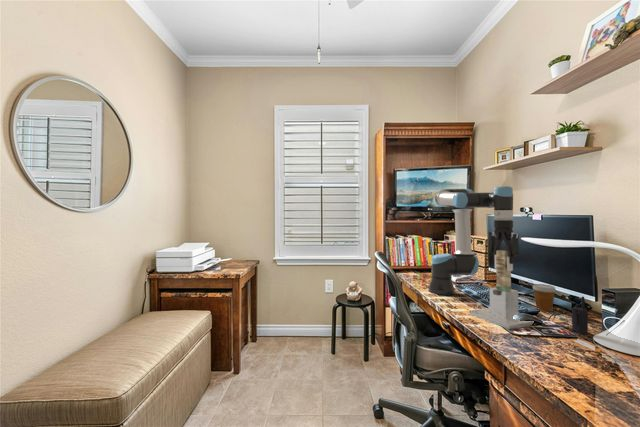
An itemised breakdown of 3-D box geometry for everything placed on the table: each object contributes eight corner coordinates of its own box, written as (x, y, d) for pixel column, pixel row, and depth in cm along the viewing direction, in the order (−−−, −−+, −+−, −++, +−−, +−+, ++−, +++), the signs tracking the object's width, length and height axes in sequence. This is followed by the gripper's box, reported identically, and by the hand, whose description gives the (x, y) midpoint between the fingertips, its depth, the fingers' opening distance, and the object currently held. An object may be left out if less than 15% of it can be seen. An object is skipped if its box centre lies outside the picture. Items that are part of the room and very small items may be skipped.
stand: (469, 314, 141) (469, 286, 141) (499, 309, 147) (499, 282, 147) (508, 329, 122) (508, 297, 122) (541, 323, 129) (540, 292, 129)
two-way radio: (590, 334, 116) (590, 297, 116) (580, 335, 116) (580, 297, 116) (576, 329, 122) (576, 293, 122) (567, 329, 121) (567, 294, 121)
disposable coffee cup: (528, 308, 149) (528, 284, 149) (539, 305, 153) (539, 282, 153) (549, 313, 141) (549, 289, 141) (560, 311, 145) (560, 287, 145)
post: (495, 301, 136) (495, 250, 136) (502, 300, 137) (502, 250, 137) (504, 304, 132) (504, 251, 132) (511, 303, 133) (511, 251, 133)
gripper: (480, 219, 142) (480, 266, 142) (517, 220, 125) (517, 273, 125) (491, 219, 145) (491, 265, 145) (529, 220, 127) (529, 272, 127)
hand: (503, 269), depth 135 cm, fingers open, 5 cm apart
